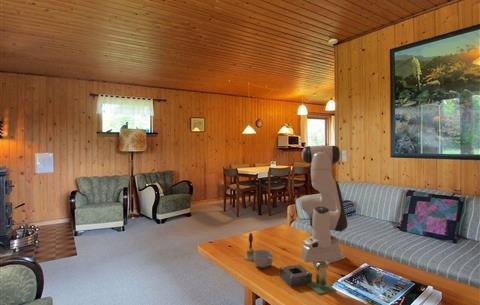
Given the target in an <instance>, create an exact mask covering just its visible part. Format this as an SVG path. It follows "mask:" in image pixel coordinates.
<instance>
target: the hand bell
mask: <svg viewBox="0 0 480 305" xmlns="http://www.w3.org/2000/svg"><path fill="white" fill-rule="evenodd" d="M248 235H249V236H248V243H249V244H248V248H247V249H246V253H245V255H244V257H243V259H244V260H245V261H249V262H254V251H255V249H254V248H253V241H254V238H253V237H254V236H253V233H252V232H249V234H248Z"/></svg>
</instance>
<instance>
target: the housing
mask: <svg viewBox="0 0 480 305" xmlns="http://www.w3.org/2000/svg"><path fill="white" fill-rule="evenodd" d="M279 277H280V279H282V281H284V282H285V283H286V284H287V286H288V287H289V288H291V289H292V288H297V287H302V286H308V285H307V283H312V282H313V274H312V273H311V272H310V271H309V270H307V269H306V268H305V267H303V266H302V265H301V264H300V263H299V264H294V265H288V266H281V267H279Z"/></svg>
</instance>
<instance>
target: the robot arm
mask: <svg viewBox="0 0 480 305" xmlns="http://www.w3.org/2000/svg"><path fill="white" fill-rule="evenodd" d="M341 153H342V152H341V150H340V148H339V146H336V145H322V144H321V145H313V146H310V145H308V146H304V148H303V150H302V152H301V159H302V160H303V162H304V163H305V164H311V165H310V179H311V185H312V188H314V190H316V191H318V192H319V194H320V195H318V194H317V195H316V194H307V195H303V196H302V197H301V198H300V200H299V201H300V202H299V204H300V208H301V210H303V211H304V212H305V213H306V214H307V216H308V218H309V220H310V221H309V225H310V227H311V234H310V236H308V237H306V238H305V239H304V240H303V241H302V244H303V246H302V251H301V259H302V261H303V262H304V263H311V264H312V266H313V270H315V271H316V270H317V269H318V266H317V265H316V262H318V261H322V262H325V263H326V269H327V268H330V264H331V263H335V262H338V261H341V260H345V259H346V255H345V254H344V253H342V250H341V247H340V241H339V239H337V238H336V236H334V235H332V234H331V231H335V232H343V231H345V230H346V229H347V228H348V225H349V220H348V216H347V214H346V212H345V204H344V202H343V197H342V192H341V191H342V190H341V188H340V184H339V182H338V181H337V180H336V179H334V177H333V174H332V173H333V172H332V169H333V168H332V166H334V165H335V164H337V163H338V162H339V161H340V159H341V156H342V154H341Z"/></svg>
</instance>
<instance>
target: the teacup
mask: <svg viewBox="0 0 480 305" xmlns="http://www.w3.org/2000/svg"><path fill="white" fill-rule="evenodd" d="M272 256H273V253H272V252H271V251H270V250H267V249H257V250H254V261H253V262H254V265H255V266H257V267H258V268H259V269H266V268H268V267H269V266H271V265H272V264H273V261H274V260H273V257H272Z"/></svg>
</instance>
